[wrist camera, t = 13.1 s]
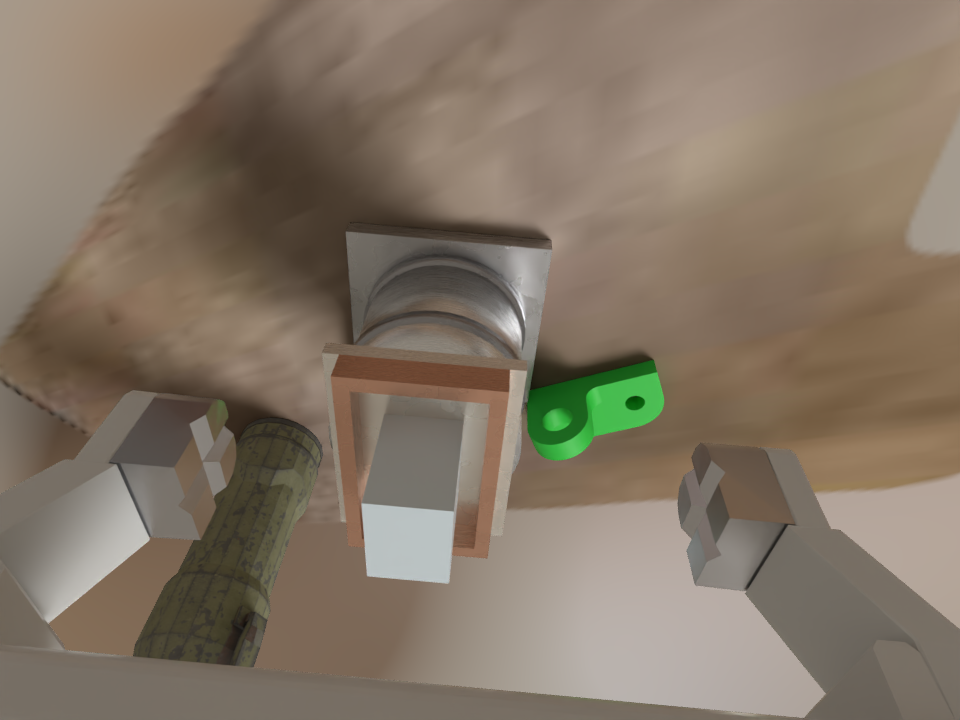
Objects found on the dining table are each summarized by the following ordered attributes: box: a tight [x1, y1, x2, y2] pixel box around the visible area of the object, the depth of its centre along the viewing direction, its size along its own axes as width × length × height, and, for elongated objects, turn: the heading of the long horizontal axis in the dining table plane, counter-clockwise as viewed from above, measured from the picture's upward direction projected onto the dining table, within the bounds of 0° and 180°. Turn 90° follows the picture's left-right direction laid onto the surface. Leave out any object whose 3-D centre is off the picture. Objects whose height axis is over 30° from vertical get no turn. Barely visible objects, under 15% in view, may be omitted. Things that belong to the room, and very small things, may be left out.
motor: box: [322, 222, 552, 558], centre depth 47 cm, size 16×16×19 cm
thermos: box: [133, 418, 323, 667], centre depth 52 cm, size 9×12×35 cm
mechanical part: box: [527, 360, 664, 460], centre depth 56 cm, size 12×6×8 cm, turn 111°
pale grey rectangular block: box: [361, 414, 464, 583], centre depth 39 cm, size 5×9×7 cm, turn 176°
